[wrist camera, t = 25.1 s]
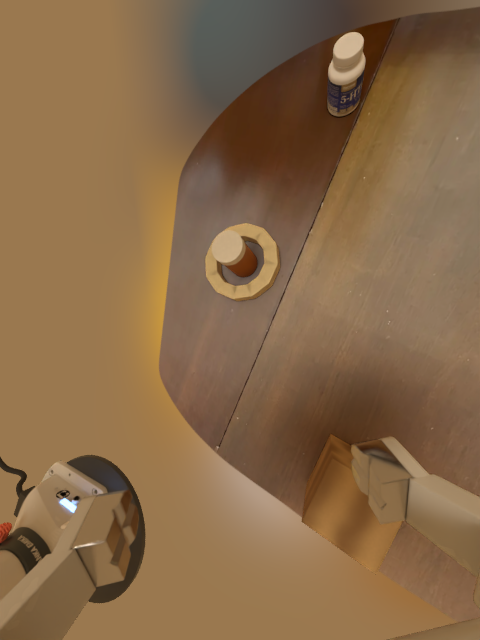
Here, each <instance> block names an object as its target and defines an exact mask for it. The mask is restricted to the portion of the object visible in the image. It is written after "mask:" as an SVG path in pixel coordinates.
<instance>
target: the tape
mask: <svg viewBox="0 0 480 640" xmlns="http://www.w3.org/2000/svg"><path fill="white" fill-rule="evenodd" d="M227 230H232V231H235V232H237V233H238V234H239V235H240V236H241V237H242V239H243V240H244V242H245V241H250V242H253V243H256V244H259V245H260V246H261V248H262V249H263V251H264V262H265V263H264V265H263V267H262V270H261V272H260V274H259V276H258V277H256V278H255V279H254V280H253V281H251V282H250V283H249V284H246V285H239V286H234V285H231V284H229V283H227V281H226V280H225V278H224V277H223V276H222V266H221V263H220V262H219V261H217V260H216V259H215V258H214V256H213V254H212V244H211V246H210V249H209V251H208V253H207V255H206V258H205V263H206V277H207V279H208V280H209V282H210V283H211V285H212V286H213V288H214V289H215V291H216V292H218V293H220V294H222V295H224V296H226V297H229V298H231V299H233V300H235V301H243V300H249V299H256V298H257V297H259V296H260V295H261V294H262V293H264V292H265V291H266V290H268V289H269V288H270V287H272V285H273V283H274V281H275V278H276V276H277V274H278V272H279V269H280V260H279V249H278V247H277V245H276V243H275V241H274V240H273V239H272V238H271V236H270V235H269V234H268V233H267V231H266V230H265V229H264V228H261V227H257V226H254V225H251V224H248V223H244V224H240V225H236V226H232V227H228V228H227V229H226V230H224V231H227ZM213 241H214V240H213ZM212 243H213V242H212Z"/></svg>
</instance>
